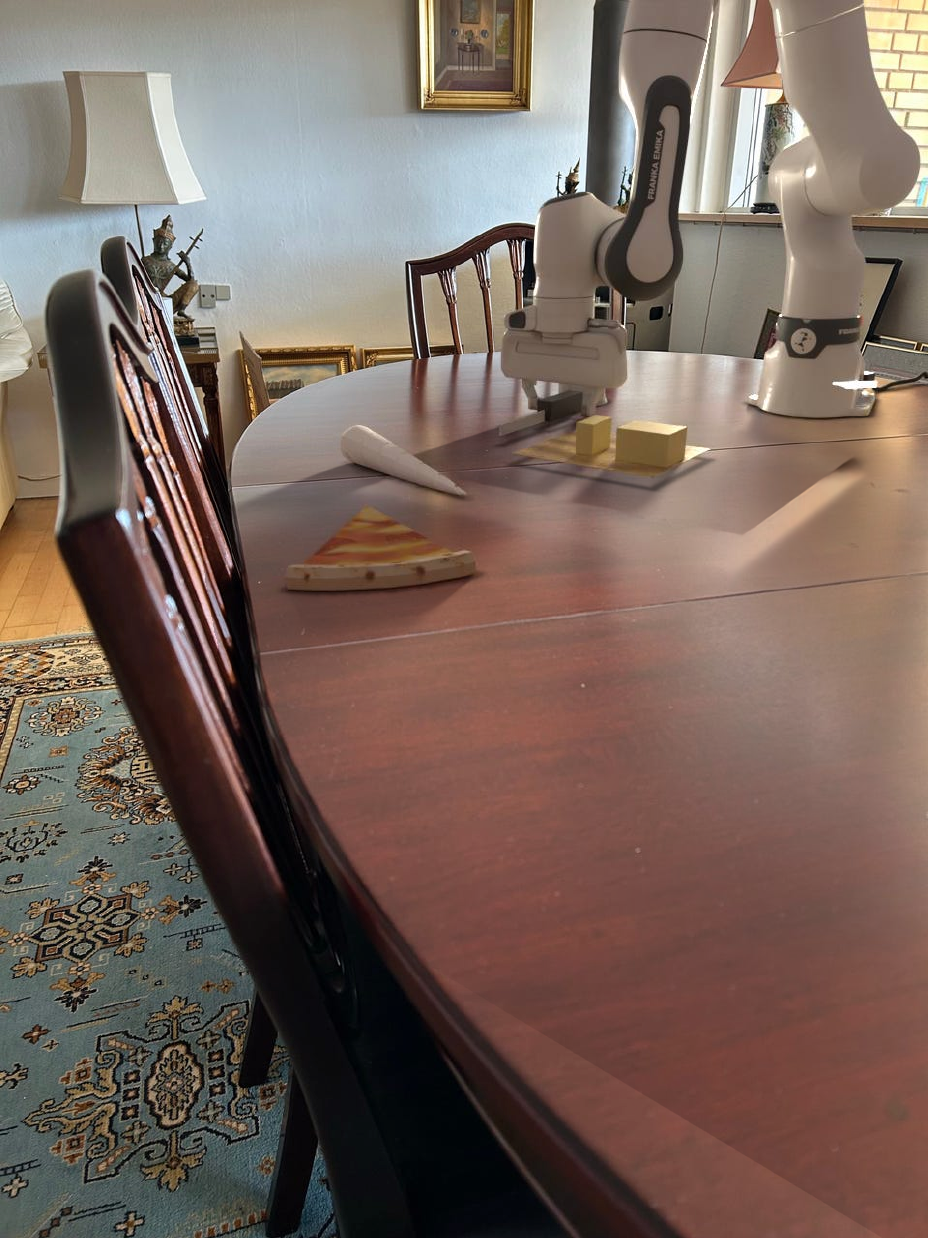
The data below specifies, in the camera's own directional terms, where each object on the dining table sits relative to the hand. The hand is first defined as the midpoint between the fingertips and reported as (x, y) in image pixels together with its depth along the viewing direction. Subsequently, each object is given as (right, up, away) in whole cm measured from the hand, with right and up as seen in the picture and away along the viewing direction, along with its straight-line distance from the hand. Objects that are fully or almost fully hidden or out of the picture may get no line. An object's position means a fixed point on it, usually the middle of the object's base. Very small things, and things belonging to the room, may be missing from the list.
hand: (561, 412), depth 135 cm
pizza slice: (-20, -25, -48) cm, 58 cm away
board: (+4, -11, -19) cm, 23 cm away
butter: (+8, -11, -24) cm, 28 cm away
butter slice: (+2, -9, -20) cm, 22 cm away
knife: (-3, -4, -3) cm, 6 cm away
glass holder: (+6, +4, +14) cm, 16 cm away
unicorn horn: (-22, -14, -23) cm, 35 cm away
